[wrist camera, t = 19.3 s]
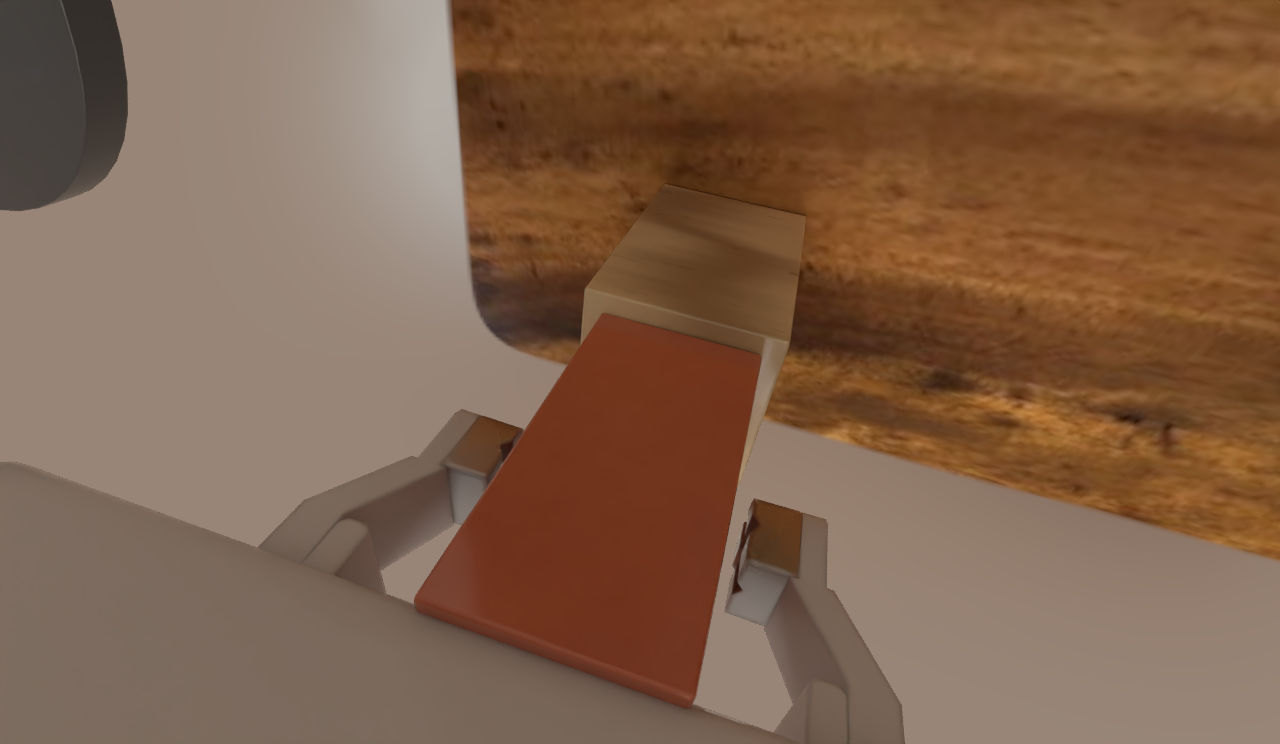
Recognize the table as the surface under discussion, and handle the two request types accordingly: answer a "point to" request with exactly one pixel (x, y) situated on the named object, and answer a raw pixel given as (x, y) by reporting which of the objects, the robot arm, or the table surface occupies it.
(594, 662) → the block
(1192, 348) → the table surface
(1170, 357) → the table surface
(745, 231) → the stand
